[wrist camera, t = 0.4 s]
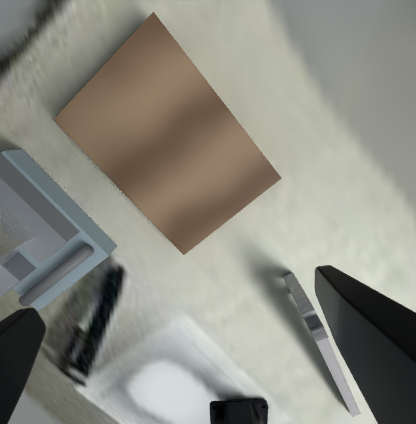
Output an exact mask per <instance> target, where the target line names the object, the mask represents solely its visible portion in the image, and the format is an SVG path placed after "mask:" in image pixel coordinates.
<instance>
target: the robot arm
mask: <svg viewBox="0 0 416 424" xmlns="http://www.w3.org/2000/svg"><path fill="white" fill-rule="evenodd" d="M315 293H316V296H317V298H318V301H319V303H320V306H321V308H322V311H323V313H324V316H325V318H326V321H327V323H328V326H329V328H330V331H331V333H332V336H333V338H334V340H335V343H336V345H337V347H338V349H339V351H340V353H341V355H342V357H343V359H344V360H345V362H346V364H347V366H348V368H349V370H350V372H351V374H352V375H353V377H354V379H355V381H356V383H357V385H358V387H359V389H360V391H361V392H362V394H363V396H364V398H365V400H366V402H367V404H368V406H369V408H370V409H371V411H372V413H373V415H374V417H375V419H376V421H377V423H378V424H416V313H415V312H413V311H412V310H410V309H408V308H406V307H404V306H403V305H401V304H399V303H397V302H395V301H394V300H392V299H390V298H388V297H386V296H385V295H383V294H381V293H379V292H378V291H376V290H374V289H372V288H370V287H369V286H367V285H365V284H363V283H361V282H360V281H358V280H356V279H354V278H352V277H351V276H349V275H347V274H345V273H343V272H342V271H340V270H338V269H336V268H334V267H333V266H330V265H325V266H318V267H316V269H315ZM45 332H46V325H45V323H44V322H43V320H42V318H41V317H40V315H39V314H38V312H37V310H36V309H34V308H24V309H20V310H17V311H16V312H14V313H13V314H11V315H10V316H8V317H7V318H5V319H4V320H2V321H1V322H0V424H8V422H9V420H10V417H11V415H12V413H13V411H14V409H15V407H16V405H17V403H18V400H19V398H20V396H21V394H22V392H23V390H24V387H25V385H26V383H27V380H28V378H29V375H30V373H31V370H32V367H33V365H34V362H35V359H36V357H37V354H38V351H39V349H40V346H41V343H42V341H43V338H44V335H45ZM210 421H211V424H267V421H268V404H267V401H265V400H237V401H212V402H211V403H210Z"/></svg>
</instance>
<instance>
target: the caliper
mask: <svg viewBox="0 0 416 424" xmlns="http://www.w3.org/2000/svg"><path fill="white" fill-rule="evenodd" d="M283 278H284V280H285V282H286V284H287V286H288V288H289V290H290V292H291V294H292V296H293V298H294V300H295V302H296V304H297V306H298V308H299V310H300V312H301V314H302V316H303V318H304V320H305V322H306V324H307V326H308V328H309V330H310V332H311V334H312V336H313V338H314V340H315V342H316V344H317V346H318V348H319V350H320V352H321V354H322V356H323V358H324V360H325V362H326V365H327V367H328V369H329V371H330V373H331V375H332V377H333V379H334V381H335V383H336V385H337V387H338V389H339V391H340V393H341V395H342V397H343V399H344V401H345V403H346V405H347V407H348V409H349V411H350V413H351V415H352V417H353V416H356V415H359V414H361V413H360V411H359V408H358V406H357V404H356V402H355V400H354V397H353V395H352V393H351V391H350V388H349V386H348V384H347V382H346V379H345V377H344V375H343V373H342V371H341V368H340V366H339V364H338V362H337V359H336V356H335V354H334V352H333V349H332V347H331V345H330V343H329V340H328V335H327V333H326V331H325V330H324V326H323V324H322V323H321V321H320V319H319V317H318V316H317V314H316V312H315V309H314V308H313V306H312V304H311V302H310V301H309V299H308V297H307V296H306V294H305V292H304V290H303V289H302V287H301V285H300V284H299V282H298V280H297V279H296V277H295V275H294V274H293V273H290V274H288V275H286V276H283Z"/></svg>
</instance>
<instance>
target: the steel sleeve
mask: <svg viewBox="0 0 416 424" xmlns="http://www.w3.org/2000/svg"><path fill="white" fill-rule="evenodd" d="M35 237H36V235H35V234H34V233H33V232H32V231H31V230H30V229H29V228H28V227H27V226H25V225H24V224H23V223H22V222H21V221H20V220H19V219H18V218H17V217H16V216H15V215H14V214H13V213H12V212H11V211H10V210H8V209H7V208H6V207H5V206H4V205H3V204H2V203H1V202H0V267H1V266H3V265H4V264H5V263H6V262H7V261H8V260H9V259H11V258H12V257H13V256H14V255H15V254H16V253H17V252H19V251H20V250H21V249H22V248H23V247H24V246H25V245H27V244H28V243H29V242H30V241H31V240H32V239H33V238H35Z"/></svg>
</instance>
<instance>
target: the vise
mask: <svg viewBox="0 0 416 424" xmlns="http://www.w3.org/2000/svg"><path fill="white" fill-rule="evenodd" d="M0 202H1V203H2V204H3V205H4V206H5V207H6V208H7V209H8V210H10V211H11V212H12V213H13V214H14V215H15V216H16V217H17V218H18V219H19V220H20V221H21V222H22V223H23V224H24V225H25V226H27V227H28V228H29V229H30V230H31V231H32V232H33V233H34V234H35V235H36V237H35V238H33V239H32V240H31V241H30V242H29V243H28V244H27V245H25V246H24V247H23V248H22V249H21V250H20V251H19V252H17V253H16V254H15V255H14V256H13V257H12V258H11V259H9V260H8V261H7V262H6V263H5V264H4V265H3V266H1V267H0V298H1V297H2V296H3V295H5V294H6V293H7V292H9V291H10V290H11V289H13V290H14V291H15V292H17V293H18V294H19V295H20V296H21V297H20V298H19V302H20V304H21V305H23V306H28V305H30V304H31V305H32V306H33V307H34V308H35V309H36V310H38V311H40V310H41V309H42V308H43V307H45V306H46V305H47V304H48V303H50V302H51V301H52V300H53V299H55V298H56V297H57V296H59V295H60V294H61V293H62V292H64V291H65V290H66V289H67V288H69V287H70V286H71V285H72V284H74V283H75V282H76V281H78V280H79V279H80V278H81V277H83V276H84V275H85V274H86V273H88V272H89V271H90V270H91V269H93V268H94V267H95V266H97V265H98V264H99V263H100V262H102V261H103V260H104V259H105V258H107V257H108V256H109V255H110V254H111V253H112V251H113V250H114V249H115V248H116V247H117V245H116V244H115V243H114V242H113V241H112V240H111V239H110V238H109V237H108V236H107V235H106V234H105V233H104V232H103V231H102V230H101V229H100V228H99V227H98V226H97V225H96V224H95V223H94V222H93V221H92V219H91V218H90V217H89V216H88V215H87V214H86V213H85V212H84V211H83V210H82V209H81V208H80V207H79V206H78V205H77V204H76V203H75V202H74V201H73V200H72V199H71V198H70V197H69V196H68V195H67V194H66V193H65V192H64V191H63V190H62V189H61V188H60V187H59V186H58V185H57V184H56V183H55V182H54V180H53V179H52V178H51V177H50V176H49V175H48V174H47V173H46V172H45V171H44V170H43V169H42V168H41V167H40V166H39V165H38V164H37V163H36V162H35V161H34V160H33V159H32V158H31V157H30V156H29V155H28V154H27V153H26V152H25V151H24V150H23V149H17V150H4V151H3V152H2V153H0Z"/></svg>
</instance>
